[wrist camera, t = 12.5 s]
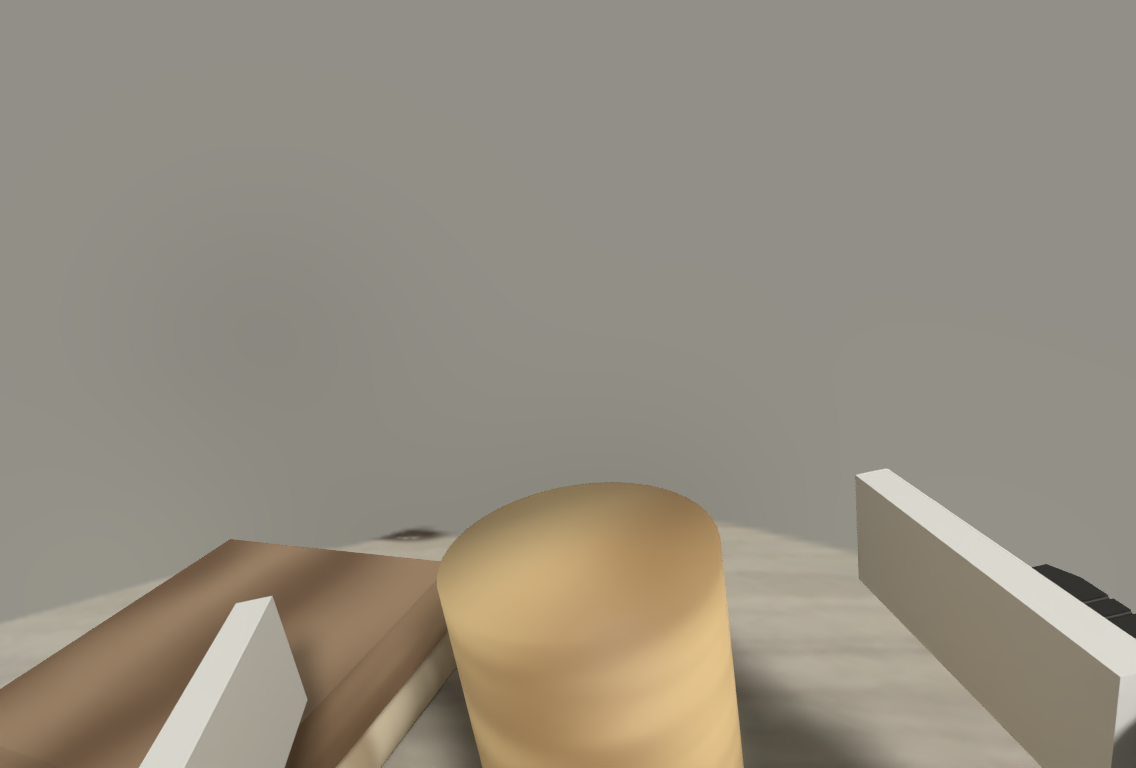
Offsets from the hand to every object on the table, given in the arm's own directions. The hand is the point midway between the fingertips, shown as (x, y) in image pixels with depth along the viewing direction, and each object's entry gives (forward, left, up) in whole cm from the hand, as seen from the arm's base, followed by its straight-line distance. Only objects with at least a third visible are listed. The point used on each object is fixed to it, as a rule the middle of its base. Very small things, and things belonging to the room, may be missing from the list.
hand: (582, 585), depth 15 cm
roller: (+1, -2, -8) cm, 8 cm away
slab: (-13, 0, -8) cm, 15 cm away
